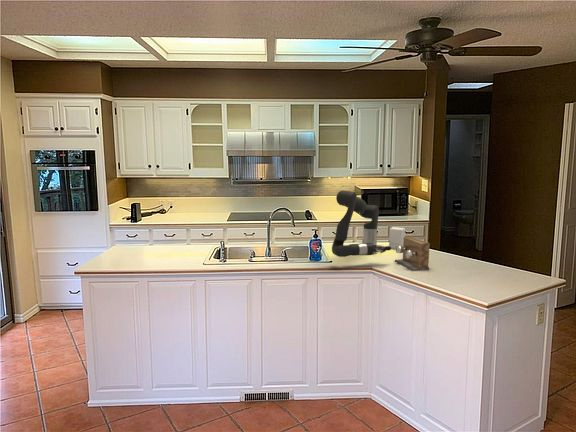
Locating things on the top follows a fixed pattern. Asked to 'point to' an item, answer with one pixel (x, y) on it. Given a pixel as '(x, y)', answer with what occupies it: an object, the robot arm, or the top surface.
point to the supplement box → (396, 237)
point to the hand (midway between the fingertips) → (390, 248)
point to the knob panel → (417, 260)
